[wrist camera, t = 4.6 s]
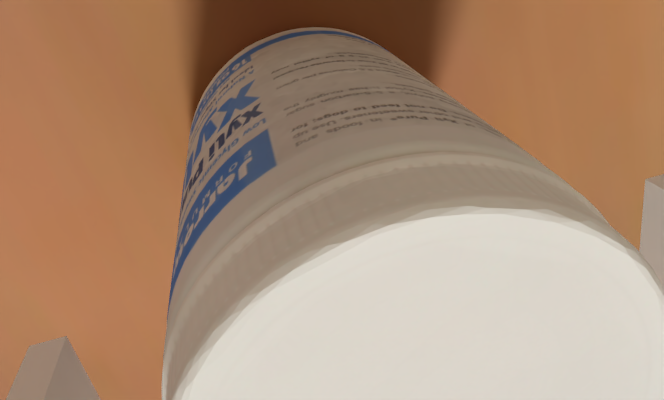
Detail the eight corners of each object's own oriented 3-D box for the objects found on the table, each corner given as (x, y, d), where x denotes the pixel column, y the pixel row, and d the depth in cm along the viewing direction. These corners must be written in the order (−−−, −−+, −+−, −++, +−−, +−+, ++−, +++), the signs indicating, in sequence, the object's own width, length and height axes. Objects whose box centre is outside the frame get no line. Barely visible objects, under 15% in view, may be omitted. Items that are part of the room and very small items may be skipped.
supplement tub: (179, 23, 20) (103, 193, 7) (434, 22, 21) (774, 157, 8) (200, 259, 24) (179, 650, 11) (413, 243, 26) (619, 566, 12)
